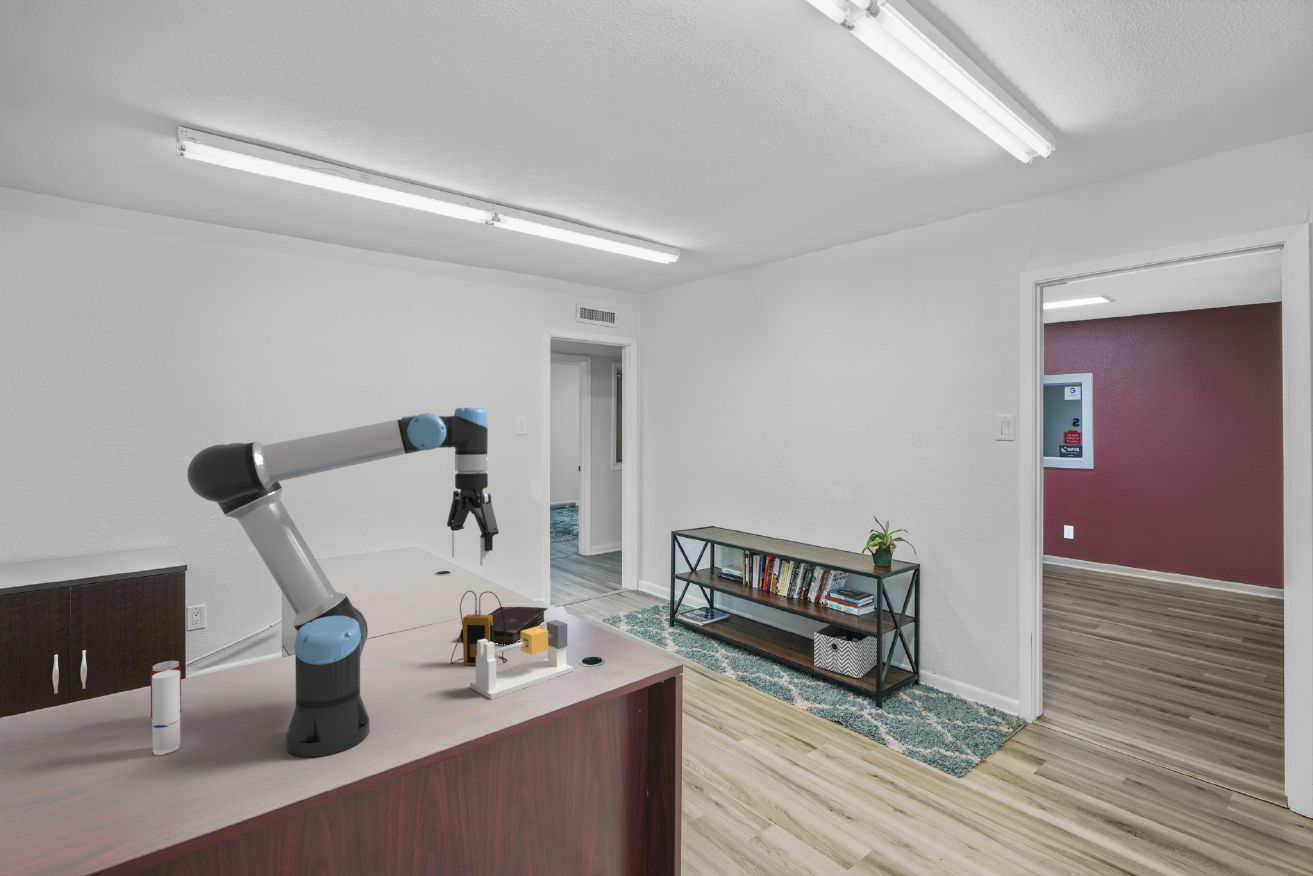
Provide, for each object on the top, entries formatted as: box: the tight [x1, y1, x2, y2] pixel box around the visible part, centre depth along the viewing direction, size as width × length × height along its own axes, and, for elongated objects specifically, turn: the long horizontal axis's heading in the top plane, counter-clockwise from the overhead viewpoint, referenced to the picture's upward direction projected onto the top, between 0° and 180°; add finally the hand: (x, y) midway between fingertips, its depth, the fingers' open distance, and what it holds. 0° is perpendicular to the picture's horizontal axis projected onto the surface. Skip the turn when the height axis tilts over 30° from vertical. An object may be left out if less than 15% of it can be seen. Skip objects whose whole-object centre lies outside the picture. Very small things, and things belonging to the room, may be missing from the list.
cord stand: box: [469, 619, 574, 700], centre depth 157 cm, size 24×10×12 cm, turn 135°
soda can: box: [150, 660, 182, 719], centre depth 135 cm, size 5×5×12 cm
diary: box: [459, 606, 548, 645], centre depth 195 cm, size 19×25×5 cm
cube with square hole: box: [520, 627, 548, 656], centre depth 159 cm, size 5×5×5 cm
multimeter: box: [450, 590, 508, 666], centre depth 171 cm, size 15×10×20 cm
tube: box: [151, 670, 181, 751], centre depth 122 cm, size 4×4×15 cm
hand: (471, 560), depth 149 cm, fingers open, 13 cm apart
